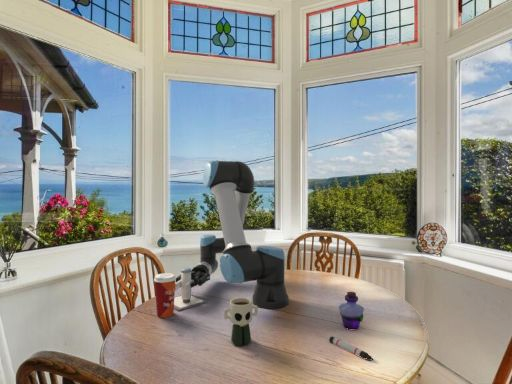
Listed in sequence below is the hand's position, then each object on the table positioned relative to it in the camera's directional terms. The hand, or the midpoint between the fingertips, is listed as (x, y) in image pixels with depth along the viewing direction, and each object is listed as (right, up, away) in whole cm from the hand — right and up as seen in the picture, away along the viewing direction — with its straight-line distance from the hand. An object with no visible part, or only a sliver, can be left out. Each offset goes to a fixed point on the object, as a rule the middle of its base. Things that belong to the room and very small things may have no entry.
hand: (180, 287), depth 134 cm
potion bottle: (+63, -9, -17) cm, 66 cm away
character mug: (+25, -9, -28) cm, 39 cm away
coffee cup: (-5, -9, -6) cm, 11 cm away
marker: (+58, -10, -34) cm, 68 cm away
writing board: (0, -8, +7) cm, 11 cm away
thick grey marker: (+1, -7, +6) cm, 9 cm away
